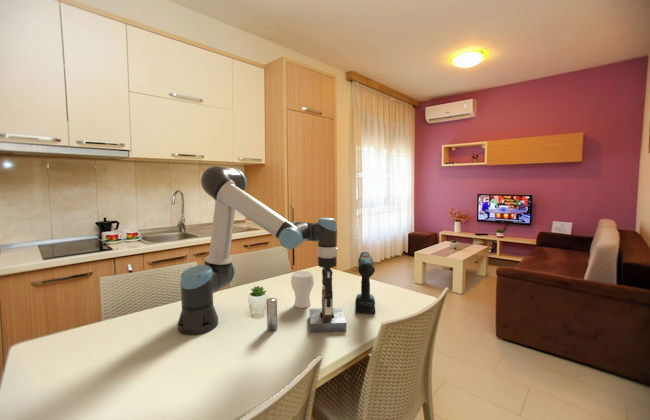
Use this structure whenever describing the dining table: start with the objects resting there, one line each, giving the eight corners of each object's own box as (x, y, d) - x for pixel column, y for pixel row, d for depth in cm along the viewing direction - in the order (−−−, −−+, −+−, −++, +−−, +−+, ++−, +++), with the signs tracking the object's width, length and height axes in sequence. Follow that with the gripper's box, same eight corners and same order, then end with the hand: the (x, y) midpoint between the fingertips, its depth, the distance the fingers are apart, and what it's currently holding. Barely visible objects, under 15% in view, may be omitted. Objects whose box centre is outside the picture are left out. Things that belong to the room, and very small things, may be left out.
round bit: (266, 331, 115) (266, 302, 114) (267, 326, 119) (267, 297, 118) (277, 331, 116) (276, 301, 114) (277, 326, 120) (277, 297, 118)
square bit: (322, 326, 120) (322, 292, 119) (321, 321, 124) (321, 289, 123) (332, 325, 120) (332, 292, 119) (331, 321, 124) (331, 288, 123)
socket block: (310, 332, 115) (310, 323, 114) (309, 316, 128) (309, 308, 128) (346, 331, 116) (346, 322, 115) (341, 315, 130) (341, 307, 129)
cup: (303, 311, 134) (303, 278, 132) (286, 305, 140) (286, 274, 139) (318, 304, 142) (318, 273, 141) (301, 298, 149) (301, 269, 147)
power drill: (372, 298, 149) (373, 249, 147) (376, 318, 127) (377, 261, 125) (355, 297, 150) (355, 249, 148) (355, 317, 127) (356, 260, 125)
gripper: (340, 264, 108) (339, 320, 109) (333, 249, 132) (332, 295, 134) (319, 264, 107) (319, 321, 109) (316, 249, 132) (316, 296, 134)
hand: (326, 307), depth 121 cm, fingers open, 13 cm apart
